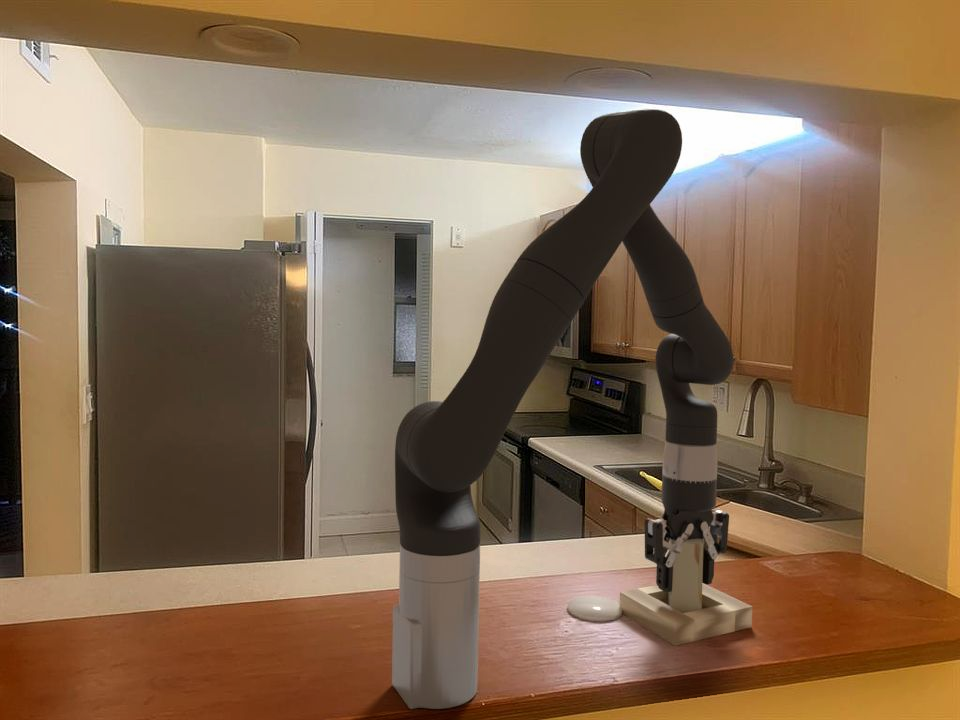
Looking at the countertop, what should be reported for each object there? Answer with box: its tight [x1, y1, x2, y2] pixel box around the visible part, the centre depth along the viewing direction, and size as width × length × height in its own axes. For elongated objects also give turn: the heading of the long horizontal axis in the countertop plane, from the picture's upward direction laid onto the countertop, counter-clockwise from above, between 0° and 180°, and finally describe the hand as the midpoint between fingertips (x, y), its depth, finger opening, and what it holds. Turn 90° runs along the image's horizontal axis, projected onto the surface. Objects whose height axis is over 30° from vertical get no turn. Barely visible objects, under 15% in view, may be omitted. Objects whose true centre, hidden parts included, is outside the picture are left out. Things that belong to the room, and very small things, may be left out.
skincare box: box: [668, 539, 704, 613], centre depth 103 cm, size 6×4×12 cm
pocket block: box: [619, 583, 753, 647], centre depth 103 cm, size 14×12×3 cm
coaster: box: [567, 595, 623, 623], centre depth 106 cm, size 8×8×1 cm
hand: (685, 586), depth 103 cm, fingers closed on skincare box, 7 cm apart
